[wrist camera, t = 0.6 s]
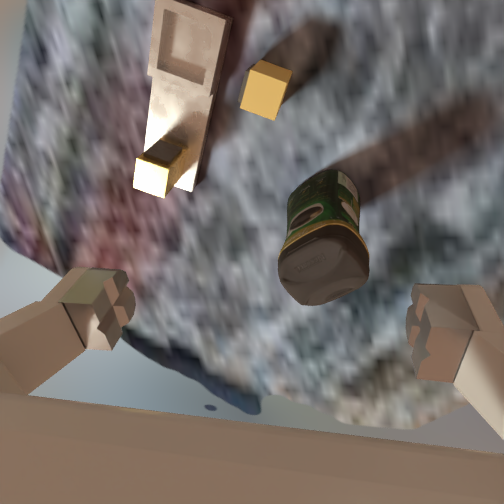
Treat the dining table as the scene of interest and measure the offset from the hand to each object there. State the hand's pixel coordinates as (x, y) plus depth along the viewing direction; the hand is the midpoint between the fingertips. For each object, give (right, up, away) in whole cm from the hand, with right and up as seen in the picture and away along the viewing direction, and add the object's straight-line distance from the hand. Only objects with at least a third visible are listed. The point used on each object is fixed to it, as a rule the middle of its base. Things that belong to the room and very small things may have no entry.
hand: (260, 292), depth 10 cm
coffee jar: (+10, +9, +41) cm, 43 cm away
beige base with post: (-9, +20, +37) cm, 43 cm away
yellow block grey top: (+2, +22, +33) cm, 40 cm away
